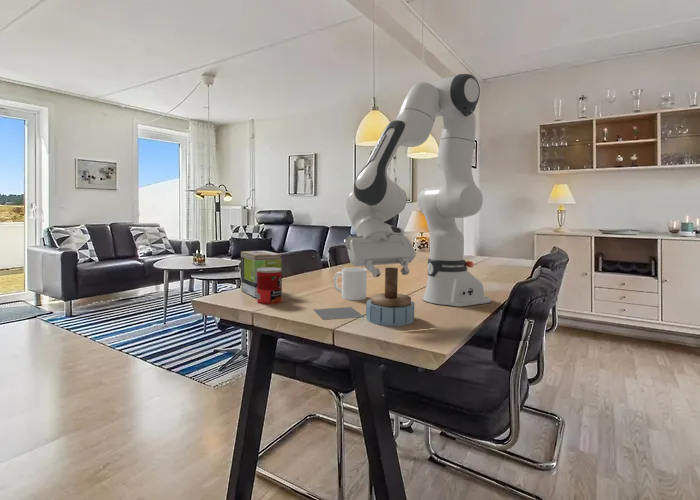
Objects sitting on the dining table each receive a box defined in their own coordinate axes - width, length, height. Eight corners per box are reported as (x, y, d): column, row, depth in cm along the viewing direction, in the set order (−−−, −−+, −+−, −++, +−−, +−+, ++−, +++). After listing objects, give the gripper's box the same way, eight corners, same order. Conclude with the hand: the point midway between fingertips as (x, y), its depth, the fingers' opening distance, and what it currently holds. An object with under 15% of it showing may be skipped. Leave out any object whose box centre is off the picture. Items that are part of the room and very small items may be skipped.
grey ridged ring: (401, 313, 124) (401, 296, 123) (422, 325, 111) (422, 306, 111) (359, 316, 120) (360, 298, 119) (377, 328, 107) (377, 309, 107)
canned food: (274, 306, 130) (274, 271, 129) (252, 304, 132) (251, 269, 131) (286, 301, 137) (286, 268, 136) (264, 299, 139) (264, 266, 138)
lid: (400, 297, 122) (401, 265, 121) (418, 306, 111) (419, 270, 110) (365, 299, 118) (365, 266, 117) (379, 308, 108) (380, 272, 107)
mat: (351, 308, 129) (351, 307, 129) (364, 318, 117) (364, 316, 117) (312, 310, 125) (312, 309, 125) (323, 321, 114) (323, 319, 113)
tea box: (282, 295, 146) (282, 253, 144) (254, 298, 140) (254, 254, 139) (266, 288, 158) (265, 249, 157) (240, 290, 153) (239, 250, 151)
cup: (359, 302, 137) (360, 271, 136) (327, 298, 142) (328, 268, 141) (370, 297, 144) (370, 268, 143) (339, 294, 149) (339, 266, 148)
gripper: (346, 229, 114) (363, 269, 107) (407, 228, 124) (427, 265, 116) (338, 244, 118) (354, 284, 111) (398, 242, 128) (416, 278, 121)
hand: (392, 274), depth 114 cm, fingers open, 8 cm apart
